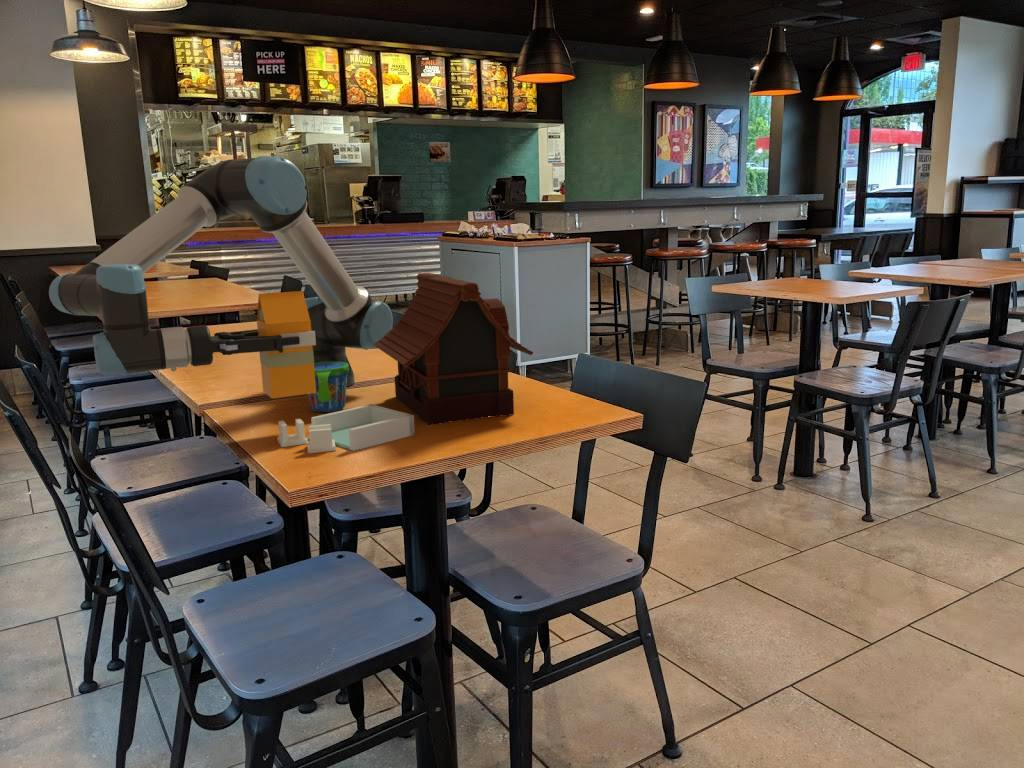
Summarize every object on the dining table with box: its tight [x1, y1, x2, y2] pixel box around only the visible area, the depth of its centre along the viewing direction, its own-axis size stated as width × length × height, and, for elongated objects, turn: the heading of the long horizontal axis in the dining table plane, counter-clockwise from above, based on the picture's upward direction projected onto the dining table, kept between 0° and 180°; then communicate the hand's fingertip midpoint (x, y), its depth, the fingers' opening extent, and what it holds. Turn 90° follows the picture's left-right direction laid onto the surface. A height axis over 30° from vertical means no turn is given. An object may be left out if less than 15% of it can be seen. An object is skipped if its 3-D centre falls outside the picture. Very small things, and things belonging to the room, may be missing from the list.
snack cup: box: [306, 362, 349, 413], centre depth 175 cm, size 16×10×10 cm
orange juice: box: [256, 290, 316, 399], centre depth 154 cm, size 8×9×20 cm
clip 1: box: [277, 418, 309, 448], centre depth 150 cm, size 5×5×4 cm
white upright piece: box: [307, 424, 337, 454], centre depth 145 cm, size 5×5×4 cm
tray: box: [310, 403, 416, 452], centre depth 153 cm, size 14×14×4 cm
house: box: [374, 272, 534, 426], centre depth 175 cm, size 35×28×29 cm
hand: (308, 335), depth 156 cm, fingers closed on orange juice, 8 cm apart
